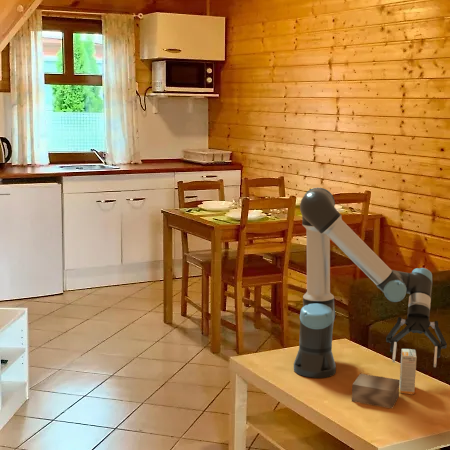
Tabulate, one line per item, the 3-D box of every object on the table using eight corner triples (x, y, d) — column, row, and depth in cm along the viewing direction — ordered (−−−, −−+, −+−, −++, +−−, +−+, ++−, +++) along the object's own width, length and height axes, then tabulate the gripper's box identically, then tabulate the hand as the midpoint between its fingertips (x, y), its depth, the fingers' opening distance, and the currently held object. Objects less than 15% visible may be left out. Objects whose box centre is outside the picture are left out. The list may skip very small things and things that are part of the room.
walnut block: (351, 402, 230) (352, 384, 229) (359, 390, 240) (360, 373, 239) (392, 409, 225) (393, 391, 224) (398, 397, 235) (399, 379, 234)
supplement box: (414, 394, 236) (417, 357, 234) (400, 393, 237) (402, 355, 235) (413, 385, 244) (415, 349, 242) (399, 384, 245) (401, 347, 243)
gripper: (455, 317, 252) (452, 372, 241) (383, 310, 260) (377, 363, 248) (456, 306, 246) (453, 362, 235) (382, 300, 254) (376, 353, 242)
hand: (414, 363), depth 241 cm, fingers open, 13 cm apart
